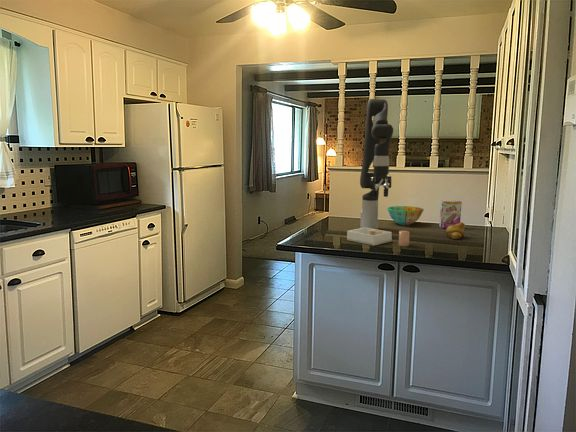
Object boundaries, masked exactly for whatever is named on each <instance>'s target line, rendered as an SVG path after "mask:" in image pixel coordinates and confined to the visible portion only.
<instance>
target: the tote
mask: <svg viewBox="0 0 576 432" xmlns="http://www.w3.org/2000/svg"><path fill="white" fill-rule="evenodd" d="M369 230H374V229H372V228H366V227H365V228H355V229H350V230H349V229H348V230H346V236H347V237H346V240H347V241H350V242H355V243H359V244H363V245H364V244H365V245H367V246H368V245H369V246H378V245H382V244H387V243H391V242H392V237H393V236H392V234H393V232H392V231H389V230H384V229H383V230H381V229H380V230H381V231H383V232H382V234H378V235H369ZM376 230H378V228H377V229H376Z"/></svg>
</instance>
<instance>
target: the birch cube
mask: <svg viewBox="0 0 576 432" xmlns="http://www.w3.org/2000/svg"><path fill="white" fill-rule="evenodd" d="M383 231H384V230H383ZM383 231H381V229H377V230H376V229H374V230H369V235H378V234H382V232H383Z"/></svg>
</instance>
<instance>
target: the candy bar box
mask: <svg viewBox="0 0 576 432" xmlns="http://www.w3.org/2000/svg"><path fill="white" fill-rule="evenodd" d="M439 208H440V211H439V228H440V229H447V227H448V226H451V225H456V224H458V223H461V218H462V217H461V214H462V201H461V200H450V199H449V200H448V199H447V200H446V199H445V200H443V199H442V200H440V207H439Z"/></svg>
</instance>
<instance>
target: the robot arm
mask: <svg viewBox="0 0 576 432" xmlns="http://www.w3.org/2000/svg"><path fill="white" fill-rule="evenodd" d="M388 111H389V104H388V101H387V100H386V99H384V98H383V99H381V98H370V99H368V100H367V104H366V117H365V118H366V122H365V124H366V126H365V132H364V133H365V135H364V142H363V156H362V165H361V170H360V177H359V179H360V180H359V185H360V187H361V188H362V189H369V191H368V192H366V193H364V194H363V195H362V199H361V201H362V205H361V206H362V207H361V212H360V221H359V222H360V223H359V224H360V226H359V227H360V228H365V227H366V228H372V229H377V230H378V219H379V196H380V195H379V194H380V186H382V188H383V197H386V198H388V197H389V189H391V188H392V176H391V175H389V174H390V173H389V171H390V156H389V155H390V144H391V141H392V138H393V134H394V127H393V125H392V124H390V123H389V122H388V114H389V113H388ZM373 117H374V119H373ZM382 139H384V141H383V142H382ZM372 163H373V171H372V172H369V171H370V167H371V166H372Z"/></svg>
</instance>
